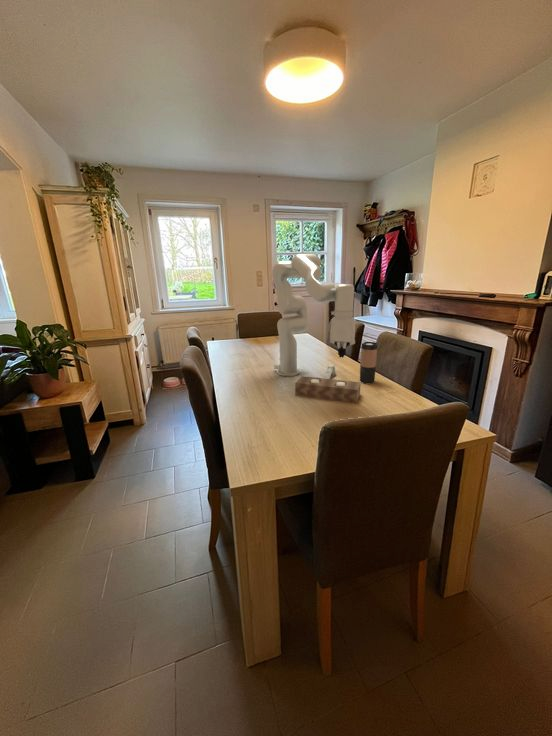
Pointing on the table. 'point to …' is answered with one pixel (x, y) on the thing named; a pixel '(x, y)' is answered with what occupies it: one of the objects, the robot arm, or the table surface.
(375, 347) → the travel mug
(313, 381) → the peg
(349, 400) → the walnut block
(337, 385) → the peg
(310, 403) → the table surface
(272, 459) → the table surface
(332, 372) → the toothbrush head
